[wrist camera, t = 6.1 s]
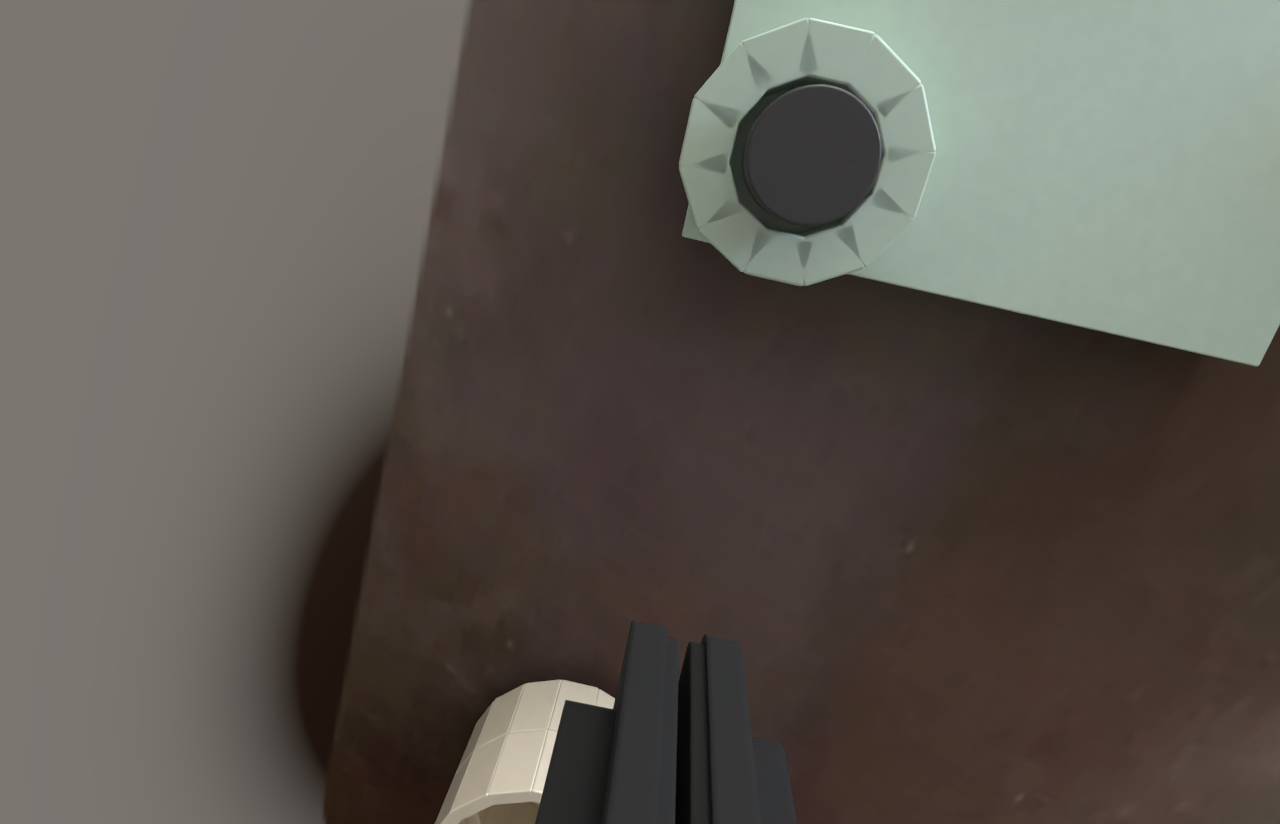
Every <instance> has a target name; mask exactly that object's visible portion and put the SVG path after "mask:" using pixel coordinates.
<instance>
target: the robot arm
mask: <svg viewBox="0 0 1280 824" xmlns="http://www.w3.org/2000/svg"><path fill="white" fill-rule="evenodd" d="M678 676H679V639H674V638H669V637H667V627H664V626H659V625H654V624H649V623H644V622H639V621H634V620H632V623H631V627H630V632H629V636H628V641H627V646H626V650H625V655H624V660H623V664H622V669H621V674H620V678H619V683H618V688H617V692H616V697H615V702H614V707H613V709H609V708H604V707H599V706H594V705H590V704H585V703H580V702H575V701H570V700H565V703H564V707H563V711H562V715H561V719H560V723H559V727H558V731H557V736H556V740H555V744H554V748H553V752H552V756H551V760H550V764H549V768H548V772H547V776H546V781H545V785H544V789H543V793H542V797H541V801H540V805H539V809H538V813H537V817H536V821H535V824H797V820H796V814H795V808H794V802H793V796H792V790H791V784H790V778H789V772H788V767H787V761H786V755H785V751H784V748H783V746H782V745H781V743H777V742H772V741H767V740H762V739H757V738H753V737H752V735H751V726H750V718H749V709H748V700H747V691H746V682H745V673H744V664H743V655H742V647H741V643H740V642H738V641H733V640H729V639H724V638H719V637H714V636H709V635H704V637H703V639H702V642H701V644H699V643H694V642H689V644H688V647H687V651H686V655H685V659H684V663H683V667H682V671H681V675H680V679H679V683H678Z"/></svg>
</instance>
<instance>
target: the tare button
mask: <svg viewBox="0 0 1280 824" xmlns="http://www.w3.org/2000/svg"><path fill="white" fill-rule="evenodd" d="M881 156H882V143H881V136H880V132H879V129H878V125H877V123H876V121H875V119H874V117H873V115H872V113H871V112H870V110H869V109H868V108H867V106H866V105H865V104H864V103H863V102H862V101H861V100H860V99H859V98H858V97H856V96H855V95H853V94H852V93H850V92H848V91H846V90H844V89H842V88H839V87H836V86H832V85H825V84H812V85H805V86H802V87H798V88H795V89H793V90H790V91H788V92H786V93H785V94H783V95H781V96H780V97H778V98H777V99H776V100H774V101H773V102H772V103H771V104H770V105H769V106H768V107H767V108H766V109H765V110H764V111H763V112H762V113H761V115H760V116H759V117H758V118H757V120H756V121H755V122H754V124H753V126H752V127H751V129H750V131H749V133H748V135H747V137H746V141H745V144H744V148H743V154H742V172H743V177H744V181H745V184H746V187H747V189H748V191H749V193H750V195H751V196H752V198H753V199H754V201H755V202H756V203H757V204H758V205H759V206H760V207H761V208H762V209H763V210H764V211H765V212H766V213H768V214H770V215H771V216H773V217H775V218H777V219H779V220H782V221H785V222H788V223H791V224H794V225H800V226H817V225H823V224H827V223H830V222H833V221H835V220H838V219H840V218H842V217H843V216H845V215H847V214H848V213H849V212H851V211H852V210H853V209H855V208H856V207H857V206H858V205H859V204H860V203H861V202H862V201H863V199H864V198H865V197H866V196H867V194H868V193H869V191H870V190H871V188H872V186H873V184H874V182H875V180H876V177H877V175H878V172H879V168H880V164H881Z"/></svg>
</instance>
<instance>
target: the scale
mask: <svg viewBox="0 0 1280 824" xmlns="http://www.w3.org/2000/svg"><path fill="white" fill-rule="evenodd" d="M812 84H825V85H832V86H836V87H839V88H842V89H844V90H846V91H848V92H850V93H852V94H853V95H855V96H856V97H858V98H859V99H860V100H861V101H862V102H863V103H864V104H865V105H866V106H867V108H868V109H869V110H870V112H871V113H872V115H873V117H874V119H875V121H876V123H877V125H878V129H879V132H880V136H881V143H882V156H881V164H880V168H879V172H878V175H877V177H876V180H875V182H874V184H873V186H872V188H871V190H870V191H869V193H868V194H867V196H866V197H865V198H864V199H863V201H862V202H861V203H860V204H859V205H858V206H857V207H856V208H855V209H853V210H852V211H851V212H849V213H848V214H847V215H845V216H843V217H842V218H840V219H838V220H835V221H833V222H830V223H827V224H823V225H817V226H800V225H794V224H791V223H788V222H785V221H782V220H779V219H777V218H775V217H773V216H771V215H770V214H768V213H766V212H765V211H764V210H763V209H762V208H761V207H760V206H759V205H758V204H757V203H756V202H755V201H754V199H753V198H752V196H751V195H750V193H749V191H748V189H747V187H746V184H745V181H744V177H743V172H742V154H743V148H744V144H745V141H746V137H747V135H748V133H749V131H750V129H751V127H752V126H753V124H754V122H755V121H756V120H757V118H758V117H759V116H760V115H761V113H762V112H763V111H764V110H765V109H766V108H767V107H768V106H769V105H770V104H771V103H772V102H773V101H774V100H776V99H777V98H778V97H780V96H781V95H783V94H785V93H786V92H788V91H790V90H793V89H795V88H798V87H802V86H805V85H812ZM679 171H680V174H681V178H682V181H683V185H684V188H685V192H686V195H687V199H688V202H689V205H688V209H687V214H686V218H685V223H684V227H683V231H682V236H683V237H686V238H690V239H695V240H699V241H703V242H708V243H711V244H712V245H713V246H714V247H715V248H716V249H717V250H718V251H719V252H720V253H721V254H722V255H723V256H724V257H725V258H727V259H728V260H729V261H730V262H731V263H732V264H733V265H734V266H735V267H736V268H737V269H738V270H739V271H740V272H743V273H745V274H747V275H752V276H756V277H761V278H765V279H770V280H774V281H778V282H783V283H787V284H792V285H796V286H803V285H804V286H808V285H812V284H815V283H818V282H821V281H825V280H828V279H831V278H835V277H838V276H841V275H845V274H849V275H854V276H858V277H862V278H867V279H871V280H876V281H880V282H884V283H889V284H893V285H898V286H902V287H907V288H911V289H915V290H920V291H924V292H929V293H933V294H937V295H942V296H946V297H951V298H955V299H960V300H964V301H968V302H973V303H977V304H982V305H986V306H990V307H995V308H999V309H1004V310H1008V311H1013V312H1017V313H1021V314H1026V315H1030V316H1035V317H1039V318H1043V319H1048V320H1052V321H1057V322H1061V323H1066V324H1070V325H1074V326H1079V327H1083V328H1088V329H1092V330H1096V331H1101V332H1105V333H1110V334H1114V335H1119V336H1123V337H1127V338H1132V339H1136V340H1141V341H1145V342H1149V343H1154V344H1158V345H1163V346H1167V347H1172V348H1176V349H1180V350H1185V351H1189V352H1194V353H1198V354H1203V355H1207V356H1211V357H1216V358H1220V359H1225V360H1229V361H1233V362H1238V363H1242V364H1247V365H1251V366H1259V365H1260V363H1261V361H1262V359H1263V357H1264V355H1265V353H1266V351H1267V349H1268V347H1269V345H1270V343H1271V341H1272V339H1273V337H1274V335H1275V333H1276V331H1277V329H1278V327H1279V325H1280V0H735V2H734V6H733V11H732V15H731V20H730V24H729V28H728V33H727V37H726V42H725V46H724V51H723V55H722V59H721V64H720V66H719V67H718V68H717V70H716V71H715V72H714V73H713V74H712V75H711V77H710V78H709V79H708V80H707V81H706V83H705V84H704V85H703V86H702V87H701V88H700V90H699V91H698V92H697V93H696V94H695V96H694V98H693V100H692V105H691V109H690V114H689V118H688V123H687V128H686V132H685V137H684V141H683V146H682V150H681V155H680V160H679Z"/></svg>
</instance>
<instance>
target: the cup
mask: <svg viewBox="0 0 1280 824" xmlns="http://www.w3.org/2000/svg"><path fill="white" fill-rule="evenodd" d="M565 700H570V701H575V702H580V703H585V704H590V705H594V706H599V707H604V708H609V709H613V707H614V702H615V698H614V697H612V696H610V695H609V694H607V693H606V692H604V691H602V690H601V689H598V688H597V687H593V686H589V685H584V684H580V683H575V682H571V681H567V680H550V681H541V682H532V683H526V684H523V685H521V686H519V687H517V688H515V689H513V690H511V691H509V692H507V693H505V694H504V695H502V696H500V697H498V698H496V699H495V700H494V701H493V702H492V703H491V705H490V706H489V707H488V708H487V710H486V711H485V712H484V714H483V715H482V716H481V718H480V719H479V720H478V721H477V723H476V725H475V727H474V730H473V732H472V734H471V737H470V739H469V742H468V744H467V747H466V749H465V752H464V754H463V756H462V759H461V761H460V764H459V766H458V769H457V771H456V774H455V776H454V778H453V781H452V783H451V785H450V788H449V790H448V793H447V795H446V798H445V800H444V803H443V805H442V807H441V810H440V812H439V815H438V817H437V820H436V822H435V824H535V821H536V817H537V813H538V809H539V805H540V801H541V797H542V793H543V789H544V785H545V781H546V776H547V772H548V768H549V764H550V760H551V756H552V752H553V748H554V744H555V740H556V736H557V731H558V727H559V723H560V719H561V715H562V711H563V707H564V703H565Z"/></svg>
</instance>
